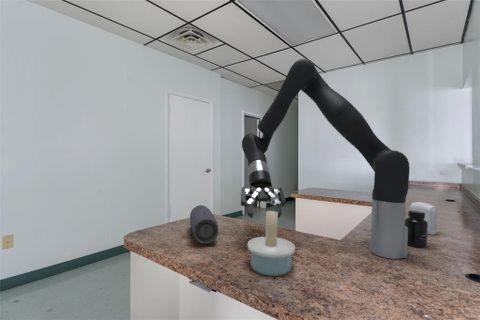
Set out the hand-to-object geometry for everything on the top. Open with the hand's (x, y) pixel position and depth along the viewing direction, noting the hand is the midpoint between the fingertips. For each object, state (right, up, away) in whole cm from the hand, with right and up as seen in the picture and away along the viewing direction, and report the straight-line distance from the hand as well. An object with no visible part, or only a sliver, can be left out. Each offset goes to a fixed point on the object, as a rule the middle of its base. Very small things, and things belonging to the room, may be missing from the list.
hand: (265, 216), depth 75 cm
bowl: (+1, -12, -8) cm, 14 cm away
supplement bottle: (+55, -13, +13) cm, 58 cm away
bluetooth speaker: (-22, -11, +16) cm, 29 cm away
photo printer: (+70, -13, +30) cm, 78 cm away
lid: (+1, -7, -7) cm, 10 cm away
